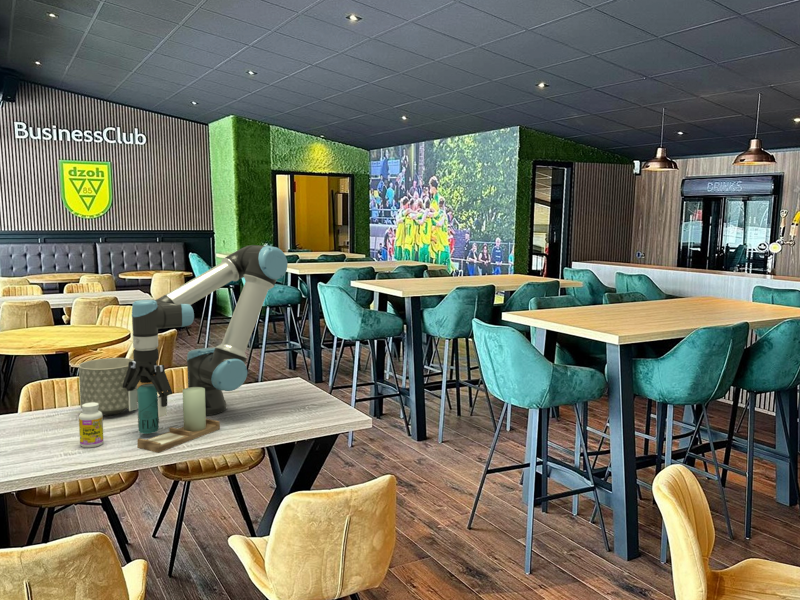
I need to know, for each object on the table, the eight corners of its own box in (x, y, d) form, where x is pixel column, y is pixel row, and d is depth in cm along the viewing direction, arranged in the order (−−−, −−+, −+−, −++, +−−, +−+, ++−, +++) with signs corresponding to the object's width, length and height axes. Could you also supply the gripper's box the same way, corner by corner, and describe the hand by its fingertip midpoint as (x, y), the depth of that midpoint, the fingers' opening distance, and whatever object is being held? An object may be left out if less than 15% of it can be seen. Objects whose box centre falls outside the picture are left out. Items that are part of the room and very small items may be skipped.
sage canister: (179, 429, 213) (177, 390, 212) (195, 423, 220) (193, 386, 218) (194, 432, 210) (193, 393, 209) (210, 426, 216) (209, 388, 215)
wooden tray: (137, 447, 200) (137, 439, 200) (200, 425, 223) (199, 417, 223) (158, 452, 196) (157, 444, 196) (219, 429, 219) (219, 421, 219)
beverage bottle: (139, 439, 208) (137, 378, 205) (137, 433, 214) (134, 373, 211) (161, 436, 211) (158, 376, 208) (158, 430, 217) (156, 371, 214)
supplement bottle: (79, 449, 198) (77, 408, 197) (80, 442, 204) (78, 402, 203) (103, 446, 201) (101, 406, 200) (103, 439, 207) (102, 400, 206)
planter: (139, 403, 249) (137, 356, 247) (136, 417, 231) (134, 367, 229) (84, 407, 243) (82, 359, 241) (77, 422, 225) (74, 370, 223)
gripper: (109, 346, 211) (111, 410, 214) (164, 354, 200) (165, 421, 202) (128, 342, 218) (130, 404, 220) (182, 350, 206) (184, 415, 209)
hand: (147, 413), depth 211 cm, fingers open, 13 cm apart
